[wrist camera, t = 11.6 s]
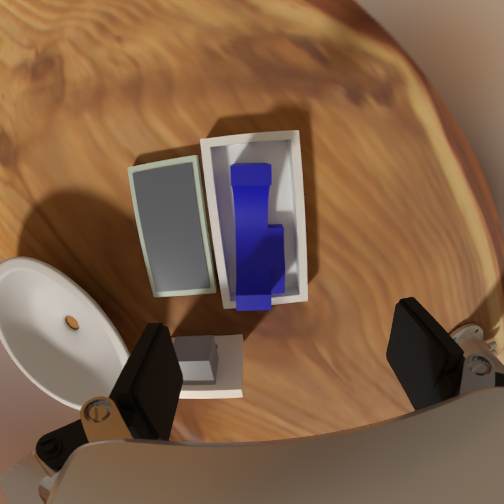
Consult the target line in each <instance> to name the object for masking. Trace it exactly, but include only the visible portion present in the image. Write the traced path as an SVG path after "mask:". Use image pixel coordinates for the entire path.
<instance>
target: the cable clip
mask: <svg viewBox="0 0 504 504" xmlns="http://www.w3.org/2000/svg"><path fill="white" fill-rule="evenodd" d="M230 178H231V186H232V190H233V198H234V212H235V234H236V295H235V297H236V311H255V310H271V296H272V295H271V294H274V293H285V255H284V227H283V225H282V224H268V198H269V189H270V185H272V169H271V164H268V163H234V164H232V165H230Z"/></svg>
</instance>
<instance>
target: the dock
mask: <svg viewBox="0 0 504 504" xmlns="http://www.w3.org/2000/svg"><path fill="white" fill-rule="evenodd" d="M200 144H201V153H202V162H203V170H204V178H205V186H206V194H207V202H208V209H209V217H210V224H211V231H212V238H213V245H214V252H215V258H216V265H217V271H218V277H219V284H220V290H221V296H222V302H223V308H224V309H231V308H236V297H235V295H236V234H235V212H234V198H233V190H232V186H231V178H230V165H232V164H234V163H268V164H271V169H272V185H270V189H269V198H268V224H282V225H283V227H284V255H285V293H274V294H271V295H272V296H271V305H274V304H284V303H293V302H301V301H308V286H307V248H306V224H305V205H304V189H303V174H302V161H301V150H300V139H299V130H288V131H272V132H259V133H248V134H238V135H229V136H221V137H214V138H206V139H200Z"/></svg>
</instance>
